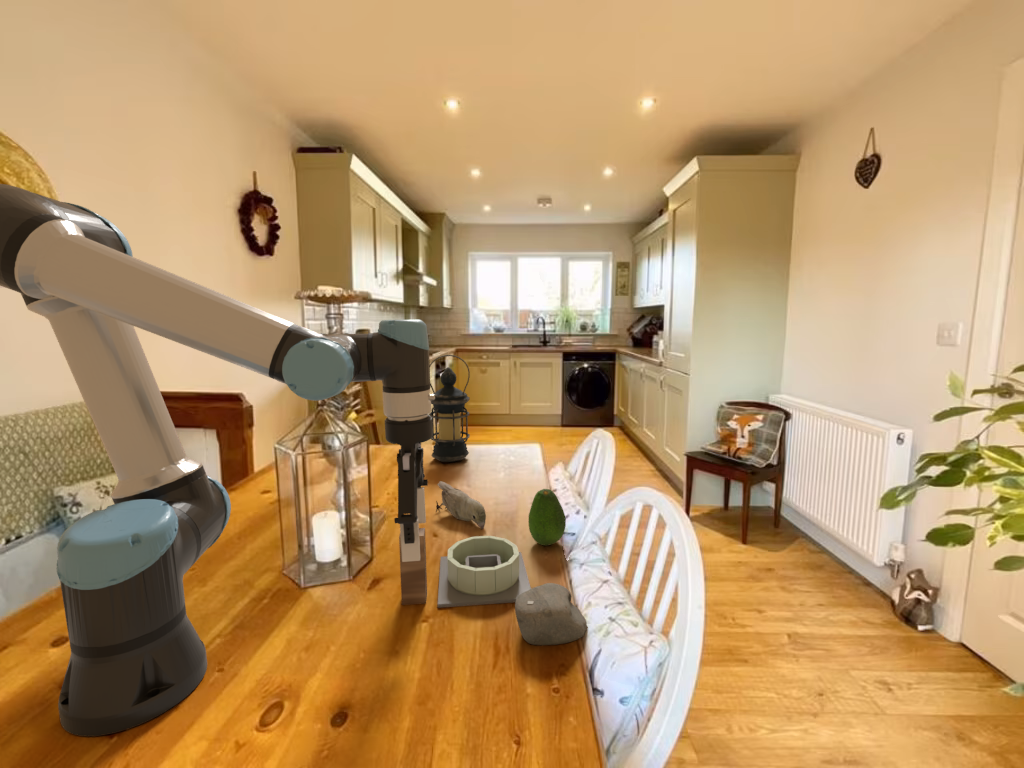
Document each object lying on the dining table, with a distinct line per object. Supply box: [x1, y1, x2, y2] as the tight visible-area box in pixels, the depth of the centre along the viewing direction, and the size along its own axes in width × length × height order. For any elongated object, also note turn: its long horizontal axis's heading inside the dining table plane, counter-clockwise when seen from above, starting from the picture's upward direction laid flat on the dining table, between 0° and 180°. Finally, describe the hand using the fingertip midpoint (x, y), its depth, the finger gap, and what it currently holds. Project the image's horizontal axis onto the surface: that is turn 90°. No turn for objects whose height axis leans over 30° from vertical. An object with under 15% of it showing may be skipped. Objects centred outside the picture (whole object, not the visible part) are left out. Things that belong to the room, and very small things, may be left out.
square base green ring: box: [437, 535, 532, 608], centre depth 88 cm, size 16×16×5 cm
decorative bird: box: [435, 480, 487, 530], centre depth 115 cm, size 5×16×8 cm, turn 45°
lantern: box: [428, 354, 471, 463], centre depth 159 cm, size 14×13×35 cm
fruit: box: [528, 488, 567, 546], centre depth 101 cm, size 8×8×12 cm
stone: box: [514, 582, 589, 646], centre depth 74 cm, size 9×9×10 cm
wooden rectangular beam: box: [398, 527, 428, 606], centre depth 82 cm, size 3×4×12 cm
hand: (415, 540), depth 81 cm, fingers open, 13 cm apart
